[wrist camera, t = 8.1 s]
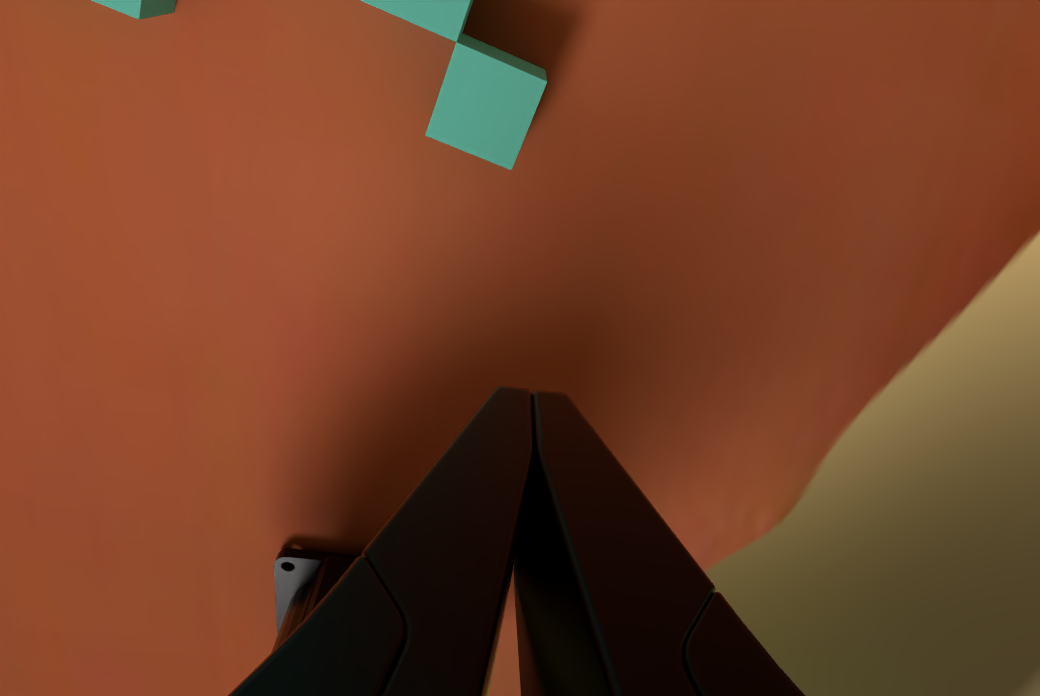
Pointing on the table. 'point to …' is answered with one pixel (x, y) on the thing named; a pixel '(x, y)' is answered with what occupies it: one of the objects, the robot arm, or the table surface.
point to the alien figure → (450, 79)
